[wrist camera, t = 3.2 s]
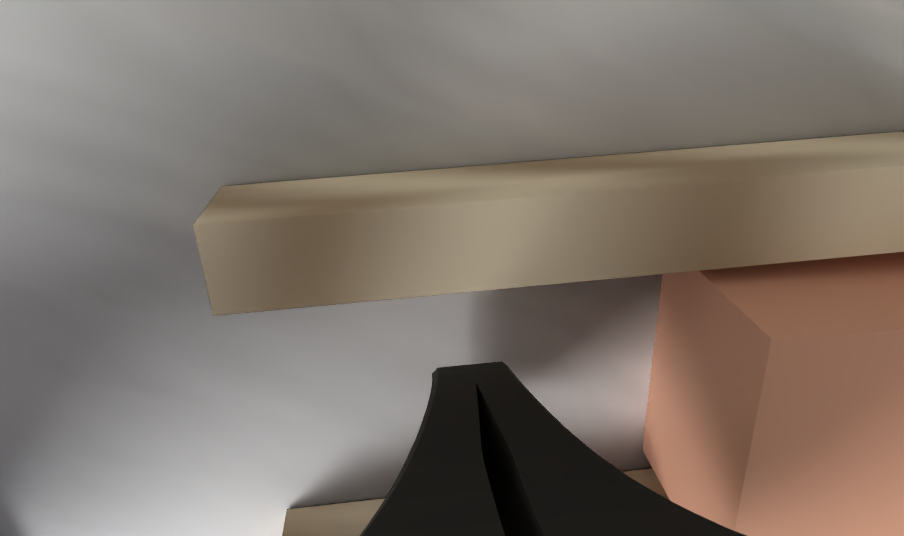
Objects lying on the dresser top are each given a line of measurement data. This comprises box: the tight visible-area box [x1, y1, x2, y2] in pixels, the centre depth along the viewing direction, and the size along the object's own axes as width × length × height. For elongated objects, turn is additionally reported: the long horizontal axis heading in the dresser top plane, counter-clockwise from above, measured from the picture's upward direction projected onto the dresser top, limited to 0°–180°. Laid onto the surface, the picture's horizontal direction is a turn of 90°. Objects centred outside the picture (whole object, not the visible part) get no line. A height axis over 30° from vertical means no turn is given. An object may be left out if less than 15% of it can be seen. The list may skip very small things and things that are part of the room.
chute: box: [193, 131, 904, 536], centre depth 13 cm, size 15×9×3 cm, turn 93°
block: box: [642, 252, 904, 536], centre depth 13 cm, size 6×5×4 cm
